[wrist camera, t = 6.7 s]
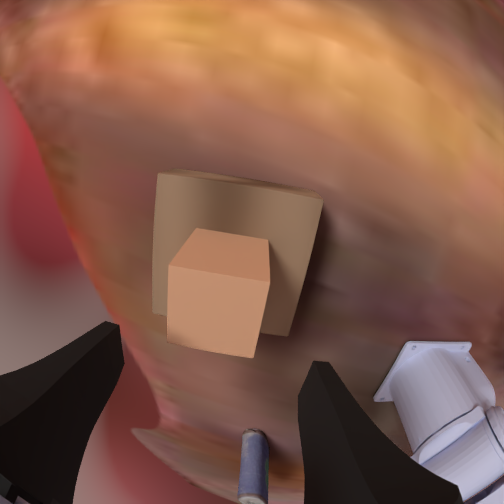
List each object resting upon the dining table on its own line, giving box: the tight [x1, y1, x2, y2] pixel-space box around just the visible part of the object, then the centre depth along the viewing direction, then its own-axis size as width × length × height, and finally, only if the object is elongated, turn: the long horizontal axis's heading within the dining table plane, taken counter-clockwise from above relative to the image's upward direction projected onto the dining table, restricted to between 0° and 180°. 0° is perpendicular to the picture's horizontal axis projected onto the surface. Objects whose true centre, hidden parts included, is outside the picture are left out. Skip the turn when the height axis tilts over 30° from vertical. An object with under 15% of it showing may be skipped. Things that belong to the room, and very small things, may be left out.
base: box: [152, 168, 324, 337], centre depth 18 cm, size 9×9×3 cm
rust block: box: [167, 228, 270, 358], centre depth 14 cm, size 4×4×5 cm
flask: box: [238, 429, 270, 504], centre depth 23 cm, size 9×3×11 cm, turn 5°
